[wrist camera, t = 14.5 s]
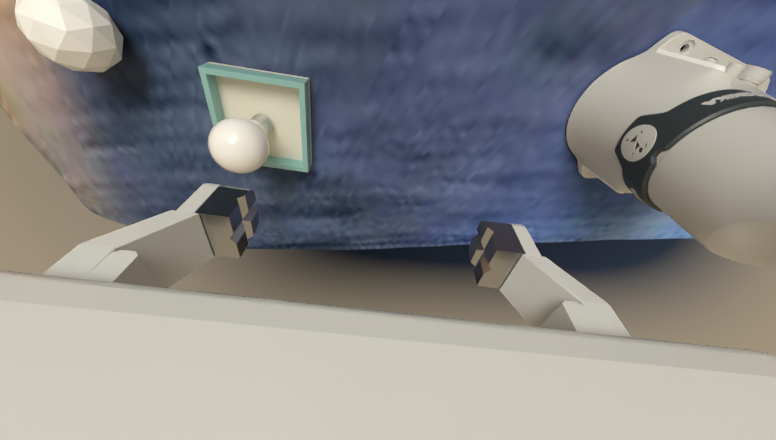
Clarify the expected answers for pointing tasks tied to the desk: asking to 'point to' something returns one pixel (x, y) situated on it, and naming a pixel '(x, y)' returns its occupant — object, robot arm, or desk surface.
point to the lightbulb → (240, 143)
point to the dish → (264, 108)
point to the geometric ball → (71, 33)
